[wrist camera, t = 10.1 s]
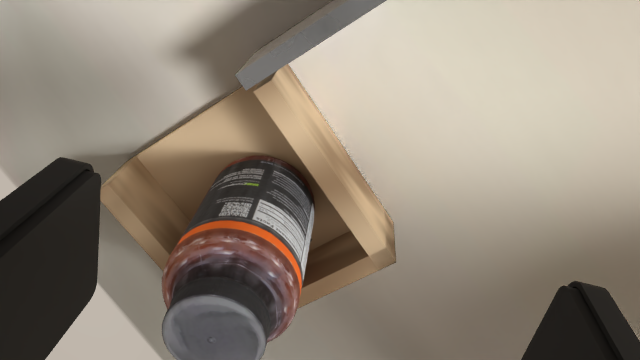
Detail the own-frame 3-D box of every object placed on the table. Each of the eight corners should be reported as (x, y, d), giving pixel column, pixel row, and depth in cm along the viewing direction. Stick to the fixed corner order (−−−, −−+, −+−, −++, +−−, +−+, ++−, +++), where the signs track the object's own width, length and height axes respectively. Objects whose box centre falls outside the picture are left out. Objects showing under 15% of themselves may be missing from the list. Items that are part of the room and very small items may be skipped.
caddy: (393, 222, 31) (396, 262, 27) (241, 297, 34) (225, 342, 30) (284, 59, 27) (271, 80, 23) (126, 161, 30) (94, 193, 27)
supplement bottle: (249, 259, 32) (192, 416, 22) (191, 180, 30) (99, 311, 20) (336, 219, 30) (318, 369, 20) (281, 132, 28) (230, 250, 18)
